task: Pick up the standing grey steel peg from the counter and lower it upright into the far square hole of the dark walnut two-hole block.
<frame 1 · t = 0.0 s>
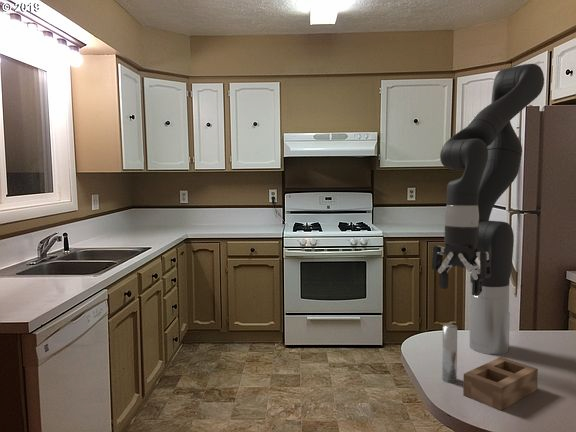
hand: (459, 291, 109), 17 cm above the countertop, tool pointing down, fingers open, 8 cm apart
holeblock: (500, 392, 94), on the countertop
peg: (449, 379, 100), on the countertop
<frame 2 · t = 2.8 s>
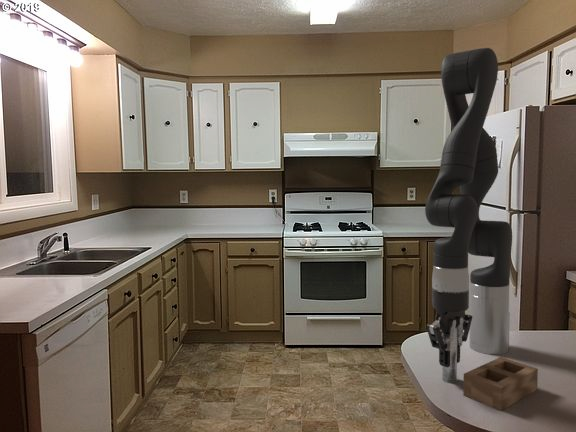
hand: (449, 363, 100), 4 cm above the countertop, tool pointing down, fingers closed on peg, 3 cm apart
peg: (449, 379, 100), on the countertop, touching gripper
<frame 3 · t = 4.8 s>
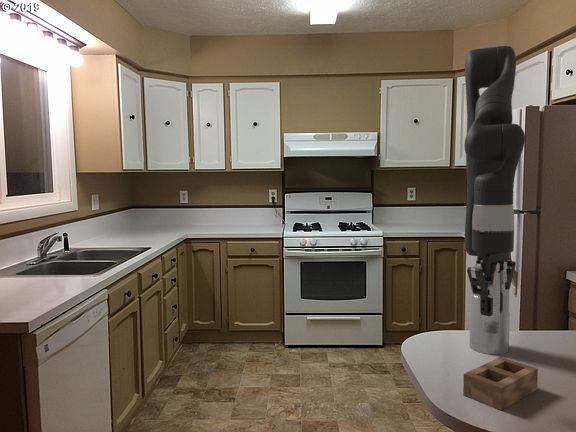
hand: (491, 313, 91), 17 cm above the countertop, tool pointing down, fingers closed on peg, 3 cm apart
peg: (491, 331, 91), point 14 cm above the countertop, touching gripper
when the fingers open (6 cm above the countertop, at t = 6.8 s): peg drops 2 cm, resting in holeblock.
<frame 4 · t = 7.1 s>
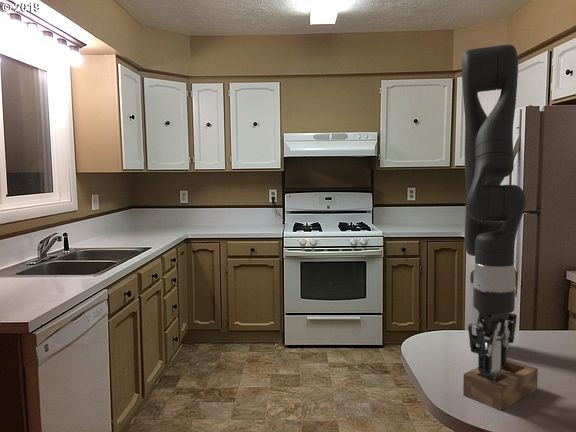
hand: (492, 368, 92), 6 cm above the countertop, tool pointing down, fingers open, 5 cm apart
peg: (492, 396, 92), resting in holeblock
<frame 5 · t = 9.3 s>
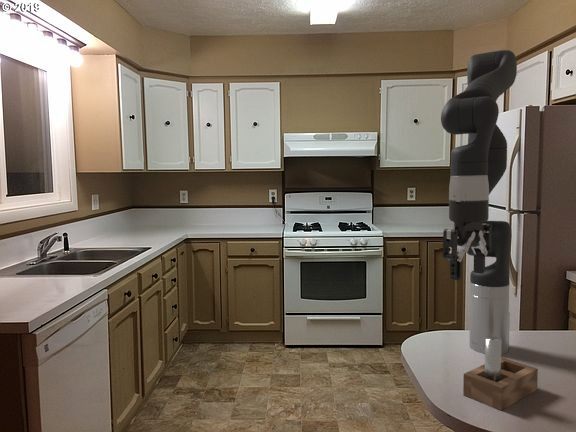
hand: (467, 276, 94), 24 cm above the countertop, tool pointing down, fingers open, 8 cm apart
nothing on the countertop moved.
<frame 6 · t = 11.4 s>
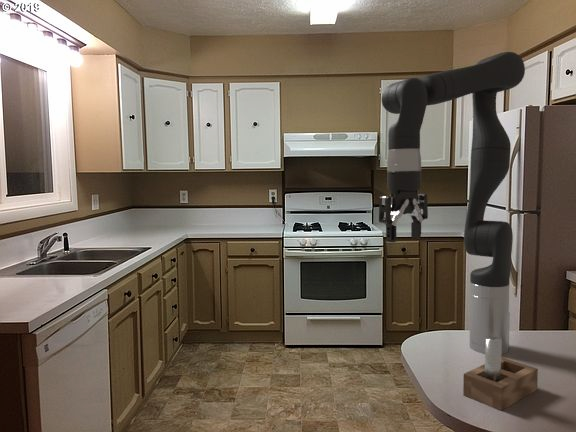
hand: (404, 239, 106), 30 cm above the countertop, tool pointing down, fingers open, 8 cm apart
nothing on the countertop moved.
at the end: peg 0.1 cm from the target spot on the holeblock, point 0.0 cm above the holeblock's base; peg tilted 0°; the gripper is holding nothing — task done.
